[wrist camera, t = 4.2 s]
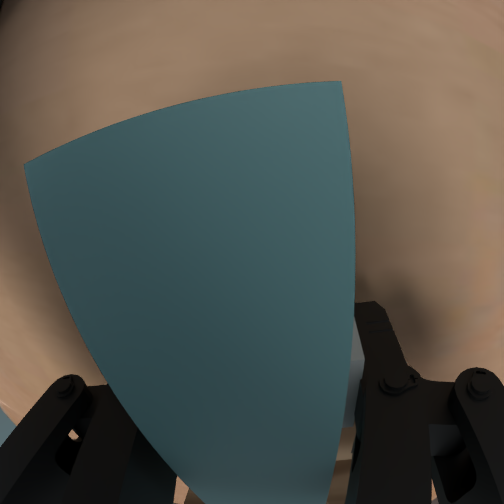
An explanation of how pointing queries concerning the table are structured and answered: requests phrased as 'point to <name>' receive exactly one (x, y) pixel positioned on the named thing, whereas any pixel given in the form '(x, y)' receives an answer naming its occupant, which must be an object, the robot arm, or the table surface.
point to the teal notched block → (216, 281)
